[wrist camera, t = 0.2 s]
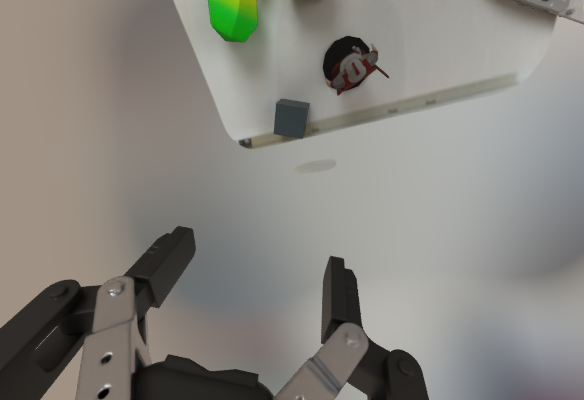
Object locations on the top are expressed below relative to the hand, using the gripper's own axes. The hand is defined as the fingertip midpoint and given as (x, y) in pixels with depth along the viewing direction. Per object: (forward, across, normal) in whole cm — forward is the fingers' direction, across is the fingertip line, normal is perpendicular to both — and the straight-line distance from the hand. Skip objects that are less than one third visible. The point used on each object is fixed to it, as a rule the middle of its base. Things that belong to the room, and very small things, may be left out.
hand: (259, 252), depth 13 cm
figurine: (+30, -5, -9) cm, 31 cm away
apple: (+30, +11, -14) cm, 34 cm away
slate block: (+29, +2, -1) cm, 29 cm away
